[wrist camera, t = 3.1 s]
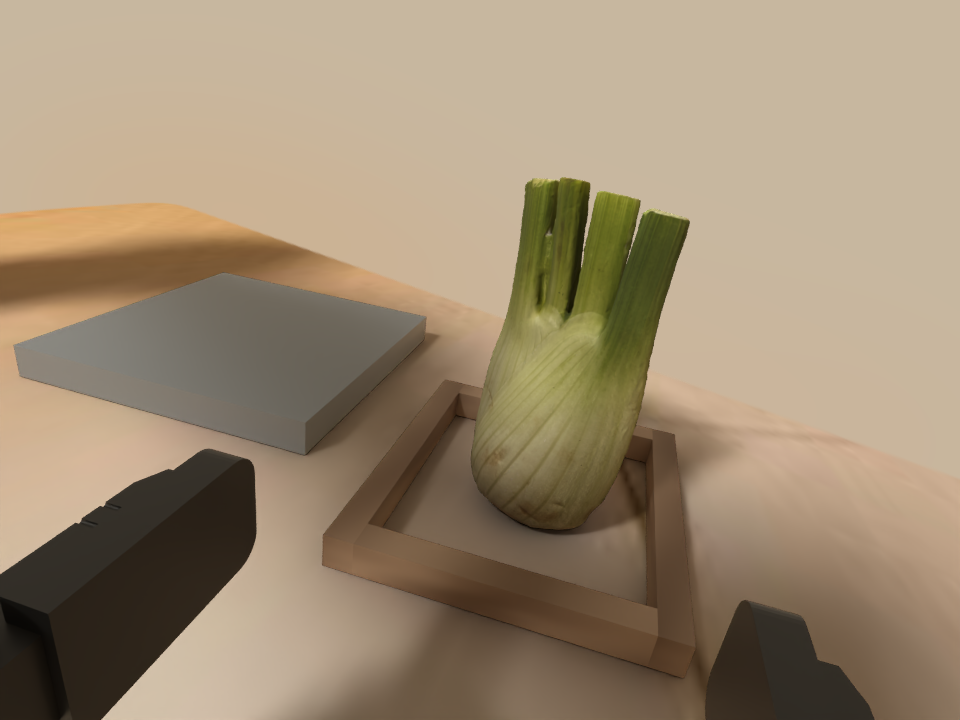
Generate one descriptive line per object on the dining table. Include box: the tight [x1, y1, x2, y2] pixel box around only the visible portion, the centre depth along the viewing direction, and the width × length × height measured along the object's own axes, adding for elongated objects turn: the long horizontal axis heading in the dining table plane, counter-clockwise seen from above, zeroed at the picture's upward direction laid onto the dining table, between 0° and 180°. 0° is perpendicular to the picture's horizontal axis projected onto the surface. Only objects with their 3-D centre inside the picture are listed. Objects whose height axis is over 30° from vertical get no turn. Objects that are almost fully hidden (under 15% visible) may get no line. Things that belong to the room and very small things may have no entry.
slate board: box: [13, 272, 426, 455], centre depth 30 cm, size 14×14×2 cm
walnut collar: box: [322, 380, 696, 678], centre depth 22 cm, size 11×12×1 cm
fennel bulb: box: [471, 177, 690, 530], centre depth 20 cm, size 6×5×12 cm
